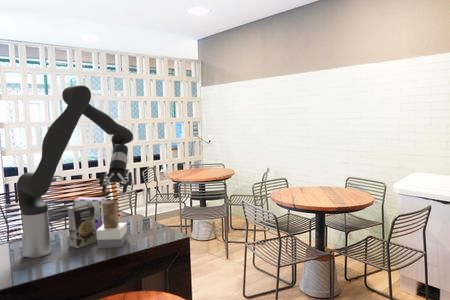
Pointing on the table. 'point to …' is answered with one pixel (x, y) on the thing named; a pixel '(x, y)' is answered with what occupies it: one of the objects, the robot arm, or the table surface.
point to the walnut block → (110, 214)
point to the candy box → (98, 208)
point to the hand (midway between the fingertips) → (114, 192)
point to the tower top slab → (111, 232)
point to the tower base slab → (111, 242)
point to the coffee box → (81, 226)
